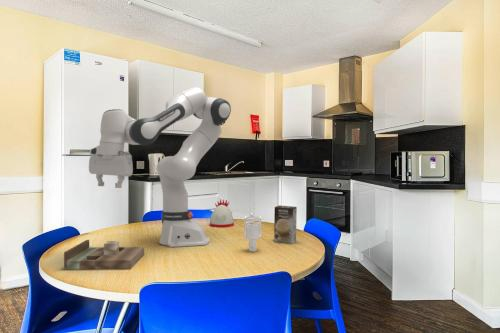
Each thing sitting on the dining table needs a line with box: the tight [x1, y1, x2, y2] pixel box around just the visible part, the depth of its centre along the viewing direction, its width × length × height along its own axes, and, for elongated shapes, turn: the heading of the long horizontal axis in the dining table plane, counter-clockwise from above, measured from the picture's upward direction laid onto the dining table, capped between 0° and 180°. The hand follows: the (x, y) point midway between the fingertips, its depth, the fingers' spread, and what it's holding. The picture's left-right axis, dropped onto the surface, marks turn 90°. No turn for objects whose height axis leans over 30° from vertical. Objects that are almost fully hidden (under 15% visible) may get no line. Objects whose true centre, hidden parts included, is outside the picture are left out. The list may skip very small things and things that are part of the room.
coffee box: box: [273, 205, 298, 245], centre depth 156 cm, size 9×6×16 cm
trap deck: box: [63, 239, 145, 271], centre depth 124 cm, size 22×18×6 cm
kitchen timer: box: [209, 199, 235, 229], centre depth 195 cm, size 14×14×15 cm
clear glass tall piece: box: [243, 212, 262, 252], centre depth 140 cm, size 7×7×15 cm
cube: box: [103, 240, 120, 255], centre depth 124 cm, size 4×4×4 cm
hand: (109, 187), depth 130 cm, fingers open, 8 cm apart
